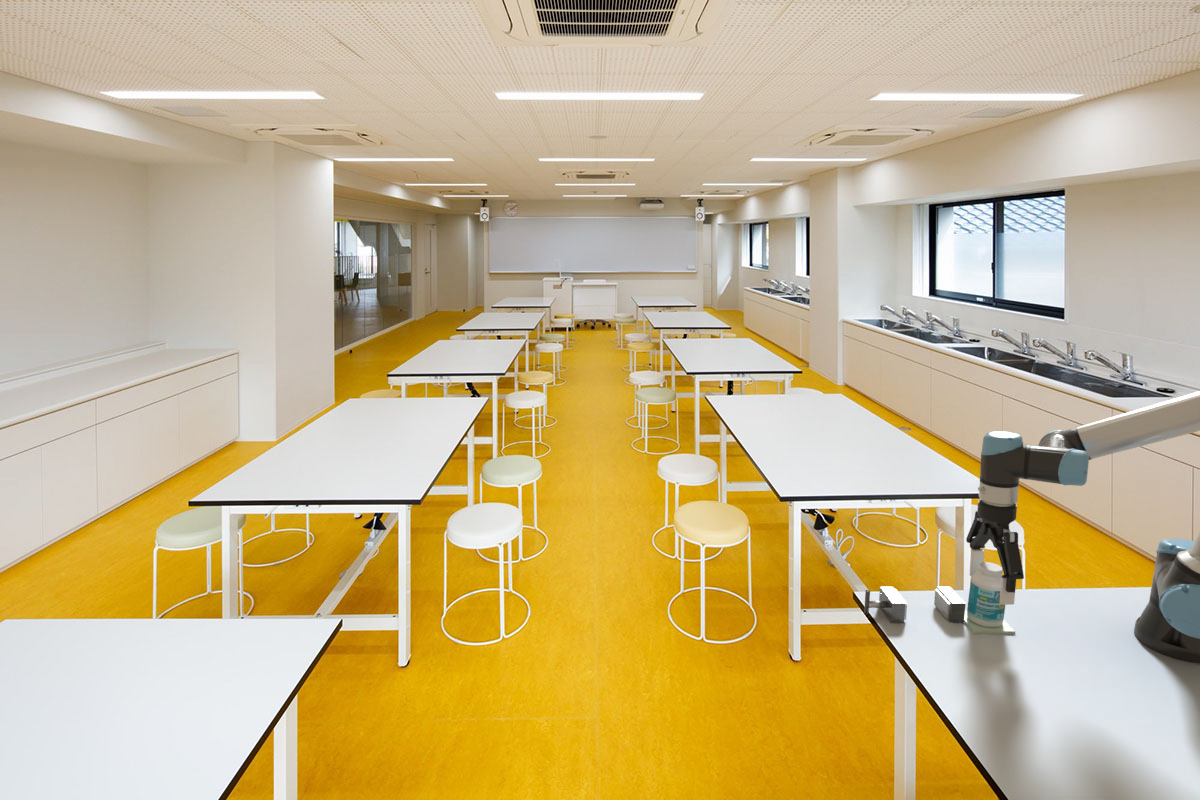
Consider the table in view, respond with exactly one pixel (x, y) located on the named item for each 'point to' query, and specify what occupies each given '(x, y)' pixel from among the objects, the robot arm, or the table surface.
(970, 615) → the pill bottle
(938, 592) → the vise
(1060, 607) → the table surface
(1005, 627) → the pad
